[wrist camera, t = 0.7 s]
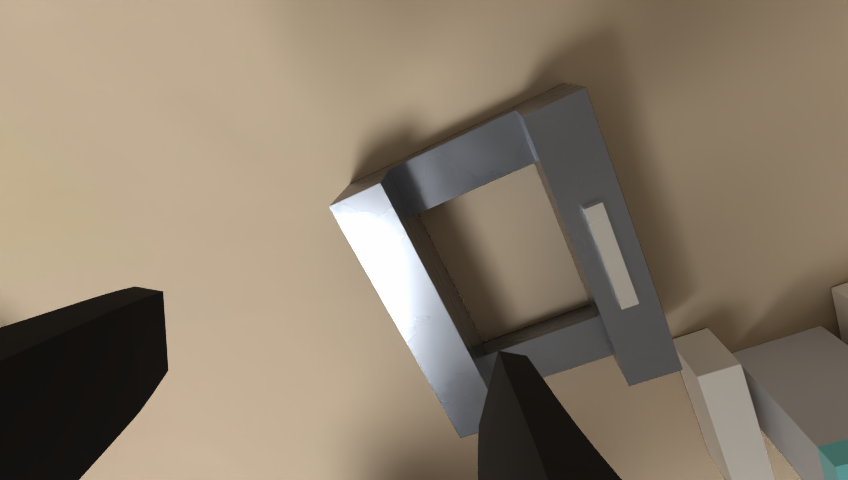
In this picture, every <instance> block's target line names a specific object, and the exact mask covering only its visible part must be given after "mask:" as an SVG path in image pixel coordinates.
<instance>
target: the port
mask: <svg viewBox="0 0 848 480" xmlns="http://www.w3.org/2000/svg"><path fill="white" fill-rule="evenodd" d="M532 163H535V165H536V168H537V170H538V173H539V175H540V178H541V180H542V183H543V185H544V188H545V190H546V193H547V195H548V198H549V200H550V203H551V205H552V208H553V210H554V213H555V215H556V218H557V220H558V223H559V225H560V228H561V230H562V233H563V235H564V238H565V240H566V243H567V245H568V248H569V250H570V253H571V255H572V258H573V260H574V263H575V265H576V268H577V270H578V273H579V275H580V278H581V280H582V283H583V285H584V288H585V290H586V293H587V295H588V298H589V300H590V303H591V305H588V306H586V307H583V308H580V309H577V310H574V311H571V312H569V313H566V314H563V315H560V316H557V317H554V318H552V319H549V320H546V321H543V322H540V323H538V324H535V325H532V326H529V327H526V328H523V329H521V330H518V331H515V332H512V333H509V334H507V335H504V336H501V337H498V338H495V339H492V340H490V341H487V342H484V343H483V342H482V340H481V338H480V336H479V334H478V332H477V330H476V328H475V326H474V324H473V322H472V320H471V318H470V316H469V314H468V312H467V310H466V308H465V306H464V304H463V302H462V300H461V298H460V296H459V294H458V292H457V290H456V288H455V286H454V284H453V282H452V280H451V278H450V276H449V274H448V272H447V270H446V268H445V266H444V264H443V263H442V261H441V259H440V257H439V255H438V253H437V251H436V249H435V247H434V245H433V243H432V241H431V239H430V237H429V235H428V233H427V231H426V229H425V227H424V225H423V223H422V221H421V219H420V217H419V215H418V213H421V212H423V211H425V210H427V209H430V208H432V207H434V206H437V205H439V204H441V203H443V202H446V201H448V200H450V199H453V198H455V197H457V196H459V195H462V194H464V193H466V192H469V191H471V190H473V189H475V188H478V187H480V186H482V185H484V184H487V183H489V182H491V181H494V180H496V179H498V178H500V177H503V176H505V175H507V174H510V173H512V172H514V171H516V170H519V169H521V168H523V167H526V166H528V165H530V164H532ZM329 208H330V209H331V211H332V213H333V215H334V216H335V218H336V220H337V222H338V223H339V225H340V227H341V229H342V230H343V232H344V234H345V236H346V237H347V239H348V241H349V243H350V245H351V246H352V248H353V250H354V252H355V253H356V255H357V257H358V259H359V260H360V262H361V264H362V266H363V267H364V269H365V271H366V273H367V274H368V276H369V278H370V280H371V281H372V283H373V285H374V287H375V288H376V290H377V292H378V294H379V296H380V297H381V299H382V301H383V303H384V304H385V306H386V308H387V310H388V311H389V313H390V315H391V317H392V318H393V320H394V322H395V324H396V325H397V327H398V329H399V331H400V332H401V334H402V336H403V338H404V340H405V341H406V343H407V345H408V347H409V348H410V350H411V352H412V354H413V355H414V357H415V359H416V361H417V362H418V364H419V366H420V368H421V369H422V371H423V373H424V375H425V376H426V378H427V380H428V382H429V384H430V385H431V387H432V389H433V391H434V392H435V394H436V396H437V398H438V399H439V401H440V403H441V405H442V406H443V408H444V410H445V412H446V413H447V415H448V417H449V419H450V420H451V422H452V424H453V426H454V427H455V429H456V431H457V433H458V435H459V436H460V438H462V437H465V436H469V435H472V434H475V433H478V432H479V423H480V419H481V415H482V411H483V407H484V403H485V400H486V396H487V392H488V388H489V384H490V380H491V376H492V372H493V368H494V364H495V361H496V357H497V353H498V351H503V352H509V353H514V354H520V355H526V356H527V357H528V358H529V359H530V361H531V362H532V364H533V365H534V366H535V368H536V369H537V371H538V372H539V374H540V375H541V376H542V378H543V377H546V376H549V375H552V374H555V373H558V372H561V371H564V370H567V369H570V368H573V367H576V366H580V365H583V364H586V363H589V362H592V361H595V360H598V359H601V358H604V357H607V356H610V355H613V356H614V358H615V360H616V362H617V364H618V366H619V368H620V370H621V371H622V373H623V375H624V377H625V379H626V381H627V383H628V385H629V386H631V385H634V384H637V383H641V382H644V381H647V380H650V379H654V378H657V377H660V376H663V375H667V374H670V373H673V372H676V371H680V370H683V368H682V365H681V363H680V360H679V357H678V354H677V351H676V348H675V345H674V342H673V339H672V336H671V334H670V331H669V328H668V325H667V322H666V319H665V316H664V313H663V310H662V307H661V305H660V302H659V299H658V296H657V293H656V290H655V287H654V284H653V281H652V278H651V275H650V273H649V270H648V267H647V264H646V261H645V258H644V255H643V252H642V249H641V246H640V244H639V241H638V238H637V235H636V232H635V229H634V226H633V223H632V220H631V217H630V215H629V212H628V209H627V206H626V203H625V200H624V197H623V194H622V191H621V188H620V186H619V183H618V180H617V177H616V174H615V171H614V168H613V165H612V162H611V159H610V157H609V154H608V151H607V148H606V145H605V142H604V139H603V136H602V133H601V130H600V128H599V125H598V122H597V119H596V116H595V113H594V110H593V107H592V104H591V101H590V98H589V96H588V93H587V90H586V87H581V86H577V85H572V84H567V83H563V84H561V85H559V86H557V87H555V88H553V89H551V90H549V91H546V92H544V93H542V94H540V95H538V96H536V97H534V98H532V99H529V100H527V101H525V102H523V103H521V104H519V105H517V106H515V107H512V108H510V109H508V110H506V111H504V112H502V113H500V114H498V115H496V116H493V117H491V118H489V119H487V120H485V121H483V122H481V123H479V124H476V125H474V126H472V127H470V128H468V129H466V130H464V131H462V132H459V133H457V134H455V135H453V136H451V137H449V138H447V139H445V140H443V141H440V142H438V143H436V144H434V145H432V146H430V147H428V148H426V149H423V150H421V151H419V152H417V153H415V154H413V155H411V156H409V157H407V158H404V159H402V160H400V161H398V162H396V163H394V164H392V165H390V166H387V167H385V168H383V169H381V170H379V171H377V172H375V173H373V174H370V175H368V176H366V177H364V178H362V179H360V180H358V181H356V182H354V183H351V184H349V185H348V186H347V187H346V189H345V190H344V191H343V192H342V193H341V194H340V195H339V196H338V197H337V198H336V200H335V201H334V202H333V203H332V204H331V205H330V206H329Z"/></svg>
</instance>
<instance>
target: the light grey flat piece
mask: <svg viewBox="0 0 848 480" xmlns="http://www.w3.org/2000/svg"><path fill="white" fill-rule="evenodd" d="M831 291H832V296H833V301H834V306H835V310H836V315H837V320H838V325H839V330H840V335H841V340H842V341H843V342H844V343H845V344H847V345H848V283H845V284H841V285H838V286H835V287H832V288H831ZM673 342H674V345H675V348H676V351H677V354H678V357H679V360H680V363H681V365H682V368H683V370H680V371H681V374H682V377H683V380H684V383H685V386H686V388H687V391H688V394H689V397H690V400H691V403H692V406H693V409H694V411H695V414H696V417H697V420H698V423H699V426H700V429H701V432H702V435H703V437H704V440H705V443H706V446H707V449H708V452H709V454H710V456H711V458H712V459H713V461H714V462H715V464H716V466H717V467H718V469H719V470H720V472H721V474H722V475H723V477H724V478H725V480H775V478H774V475H773V471H772V468H771V464H770V461H769V458H768V454H767V451H766V447H765V444H764V441H763V437H762V434H761V430H760V427H759V423H758V420H757V417H756V413H755V410H754V406H753V403H752V400H751V396H750V393H749V389H748V386H747V383H746V379H745V376H744V372H743V369H742V366H741V363H740V362H739V361H738V360H737V359H736V358H735V357H734V356H733V355H732V354H731V352H730V351H729V350H728V349H727V348H726V347H725V346H724V345H723V344H722V343H721V342H720V341H719V339H718V338H717V337H716V336H715V335H714V334H713V333H712V332H711V331H710V330H709V329H708V328H706V329H703V330H700V331H696V332H693V333H690V334H687V335H684V336H681V337H678V338H675V339H673Z"/></svg>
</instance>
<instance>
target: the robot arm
mask: <svg viewBox="0 0 848 480" xmlns="http://www.w3.org/2000/svg"><path fill="white" fill-rule="evenodd" d="M167 371H168V359H167V344H166V329H165V314H164V299H163V291H157V290H151V289H146V288H140V287H132V288H127V289H123V290H119V291H115V292H112V293H108V294H105V295H101V296H98V297H95V298H92V299H89V300H85V301H82V302H79V303H76V304H73V305H70V306H67V307H64V308H60V309H57V310H54V311H51V312H48V313H45V314H42V315H39V316H36V317H32V318H29V319H26V320H23V321H20V322H17V323H14V324H11V325H7V326H4V327H1V328H0V480H79V479H80V478H81V477H82V476H83V475H84V474H85V472H86V471H87V470H88V469H89V468H90V467H91V466H92V465H93V464H94V462H95V461H96V460H97V459H98V458H99V457H100V456H101V455H102V454H103V453H104V451H105V450H106V449H107V448H108V447H109V446H110V445H111V444H112V443H113V441H114V440H115V439H116V438H117V437H118V436H119V435H120V434H121V432H122V431H123V430H124V429H125V428H126V427H127V426H128V425H129V423H130V422H131V421H132V420H133V419H134V418H135V417H136V415H137V414H138V413H139V412H140V411H141V409H142V408H143V406H144V405H145V404H146V402H147V401H148V399H149V398H150V397H151V395H152V394H153V392H154V391H155V389H156V388H157V386H158V385H159V383H160V382H161V380H162V379H163V377H164V376H165V374H166V373H167ZM478 480H622V479H621V478H620V477H619V476H618V475H617V474H616V473H615V471H614V470H613V469H612V468H611V467H610V465H609V464H608V463H607V462H606V461H605V460H604V458H603V457H602V456H601V455H600V454H599V452H598V451H597V450H596V449H595V448H594V446H593V445H592V444H591V443H590V441H589V440H588V439H587V438H586V436H585V435H584V434H583V433H582V431H581V430H580V429H579V427H578V426H577V425H576V424H575V422H574V421H573V420H572V418H571V417H570V416H569V414H568V413H567V412H566V410H565V409H564V408H563V406H562V405H561V403H560V402H559V401H558V399H557V398H556V396H555V395H554V394H553V392H552V391H551V389H550V388H549V387H548V385H547V384H546V382H545V381H544V379H543V378H542V376H541V375H540V374H539V372H538V371H537V369H536V368H535V366H534V365H533V364H532V362H531V361H530V359H529V358H528V357H527V356H526V355H520V354H514V353H509V352H503V351H498V353H497V357H496V361H495V364H494V368H493V372H492V376H491V380H490V384H489V388H488V392H487V396H486V400H485V403H484V407H483V411H482V415H481V419H480V423H479V435H478Z"/></svg>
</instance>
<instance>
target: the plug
mask: <svg viewBox="0 0 848 480" xmlns="http://www.w3.org/2000/svg"><path fill="white" fill-rule="evenodd" d="M731 354H732V355H733V356H734V357H735V358H736V359H737V360H738V361H739V362H740V363H741V366H742V369H743V372H744V376H745V379H746V383H747V386H748V389H749V393H750V396H751V400H752V403H753V406H754V410H755V413H756V417H757V420H758V423H759V427H760V428H761V429H762V430H763V432H764V433H765V434H766V435H767V437H768V438H769V439H770V440H771V441H772V443H773V444H774V445H775V446H776V448H777V449H778V450H779V451H780V453H781V454H782V455H783V456H784V457H785V459H786V460H787V461H788V462H789V464H790V465H791V466H792V467H793V469H794V470H795V471H796V472H797V473H798V475H799V476H800V477H801V478H802V480H848V345H847V344H845V343H844V342H843V341H841V340H840V339H838V338H837V337H836V336H834V335H833V334H832V333H830V332H829V331H828V330H826V329H825V328H824V327H822V326H818V327H815V328H812V329H809V330H805V331H802V332H799V333H796V334H792V335H789V336H786V337H783V338H779V339H776V340H773V341H770V342H766V343H763V344H760V345H757V346H753V347H750V348H747V349H744V350H741V351H737V352H734V353H731Z"/></svg>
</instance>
